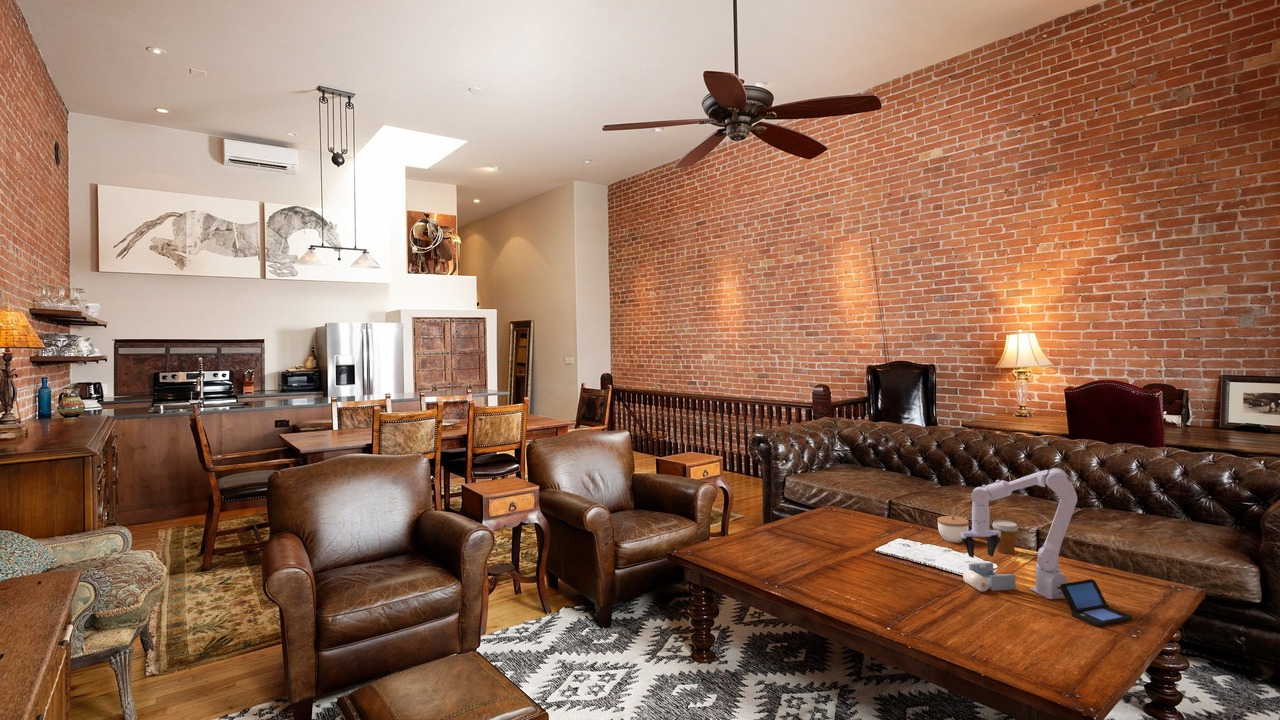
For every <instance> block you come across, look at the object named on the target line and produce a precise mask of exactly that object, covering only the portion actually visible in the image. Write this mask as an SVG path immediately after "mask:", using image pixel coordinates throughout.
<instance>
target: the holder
mask: <svg viewBox="0 0 1280 720" xmlns="http://www.w3.org/2000/svg"><path fill="white" fill-rule="evenodd" d="M968 570H972V571H974V572H976V573H978V574H979V575H981V576H983V577H984V578H986V579H988V581H989V583H990V586H989V589H988V590H990V591H993V592H995V591H1010V590H1017V587H1016V574H1014V573H1007V574H1003V573H1001V574H999V573H996V572H995V571H994V563H993V562H989V561H988V562H977V563H976V562H973V563H972V562H971V563H968Z"/></svg>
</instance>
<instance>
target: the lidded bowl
mask: <svg viewBox="0 0 1280 720" xmlns="http://www.w3.org/2000/svg"><path fill="white" fill-rule="evenodd" d="M969 523H970V522H969V519H966V518H963V517H960V516H955V514H954V515H953V514H952V515H943V516H942V515H941V516H939V517H937V528H938V532H939V534H940V535H941V537H942V538H943V540H944V541H946V542H950V543H961V542H963V540H962V537H961V532H965V531H969Z"/></svg>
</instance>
